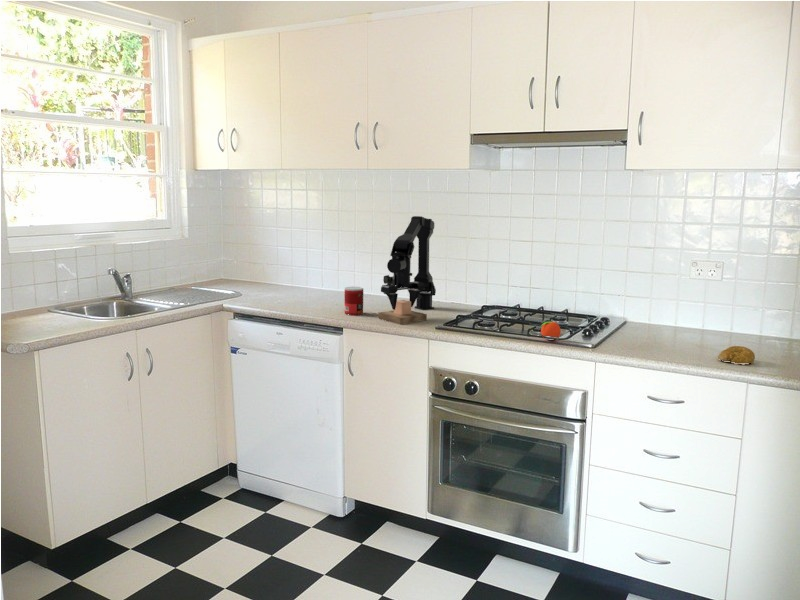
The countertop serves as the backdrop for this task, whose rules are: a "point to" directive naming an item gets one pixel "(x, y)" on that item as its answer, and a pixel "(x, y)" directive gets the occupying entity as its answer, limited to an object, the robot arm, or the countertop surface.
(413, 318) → the base board
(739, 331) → the countertop surface
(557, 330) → the clementine
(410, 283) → the robot arm
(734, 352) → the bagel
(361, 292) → the canned food
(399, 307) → the block
